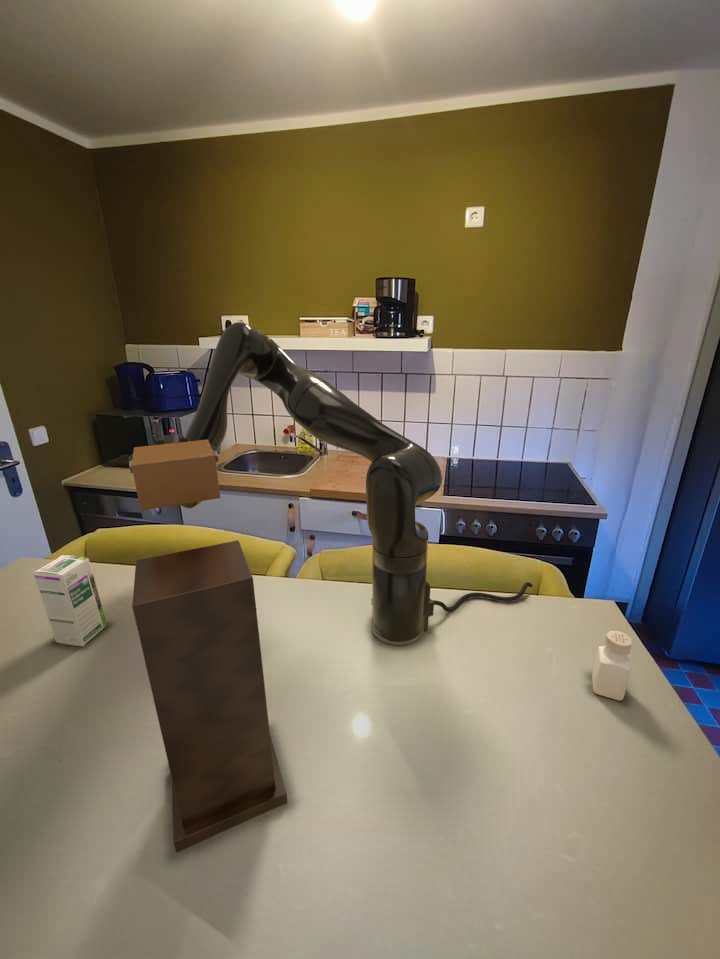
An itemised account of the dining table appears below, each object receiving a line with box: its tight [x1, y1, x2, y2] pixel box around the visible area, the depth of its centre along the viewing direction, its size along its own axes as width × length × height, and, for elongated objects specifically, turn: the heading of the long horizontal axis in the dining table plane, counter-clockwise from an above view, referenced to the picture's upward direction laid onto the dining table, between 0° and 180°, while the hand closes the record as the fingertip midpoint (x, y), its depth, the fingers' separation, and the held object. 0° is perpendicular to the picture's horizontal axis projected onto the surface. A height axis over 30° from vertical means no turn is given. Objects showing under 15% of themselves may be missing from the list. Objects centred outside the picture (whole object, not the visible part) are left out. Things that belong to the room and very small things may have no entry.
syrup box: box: [32, 554, 108, 648], centre depth 74 cm, size 6×6×14 cm
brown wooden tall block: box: [131, 540, 288, 853], centre depth 46 cm, size 12×10×30 cm
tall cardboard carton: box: [132, 433, 221, 512], centre depth 55 cm, size 8×24×5 cm, turn 24°
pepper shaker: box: [591, 630, 633, 701], centre depth 63 cm, size 4×4×10 cm
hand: (172, 443), depth 59 cm, fingers closed on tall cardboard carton
